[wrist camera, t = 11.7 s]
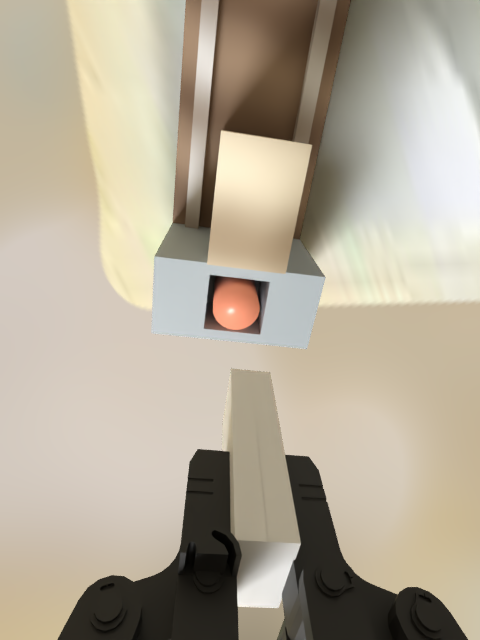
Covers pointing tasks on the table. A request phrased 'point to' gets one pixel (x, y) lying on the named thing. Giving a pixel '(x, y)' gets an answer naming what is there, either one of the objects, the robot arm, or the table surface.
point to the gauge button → (235, 302)
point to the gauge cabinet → (198, 278)
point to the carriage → (256, 201)
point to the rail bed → (252, 86)
